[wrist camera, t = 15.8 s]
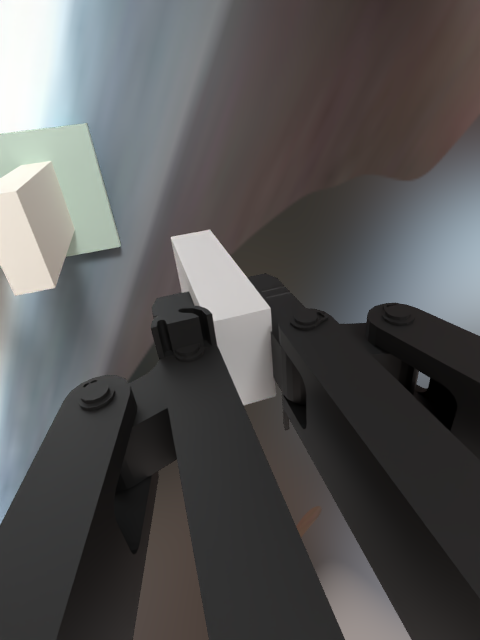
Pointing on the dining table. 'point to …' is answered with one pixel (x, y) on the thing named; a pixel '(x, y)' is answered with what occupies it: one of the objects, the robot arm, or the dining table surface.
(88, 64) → the dining table surface
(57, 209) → the domino
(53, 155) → the board
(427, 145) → the dining table surface
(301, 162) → the dining table surface
